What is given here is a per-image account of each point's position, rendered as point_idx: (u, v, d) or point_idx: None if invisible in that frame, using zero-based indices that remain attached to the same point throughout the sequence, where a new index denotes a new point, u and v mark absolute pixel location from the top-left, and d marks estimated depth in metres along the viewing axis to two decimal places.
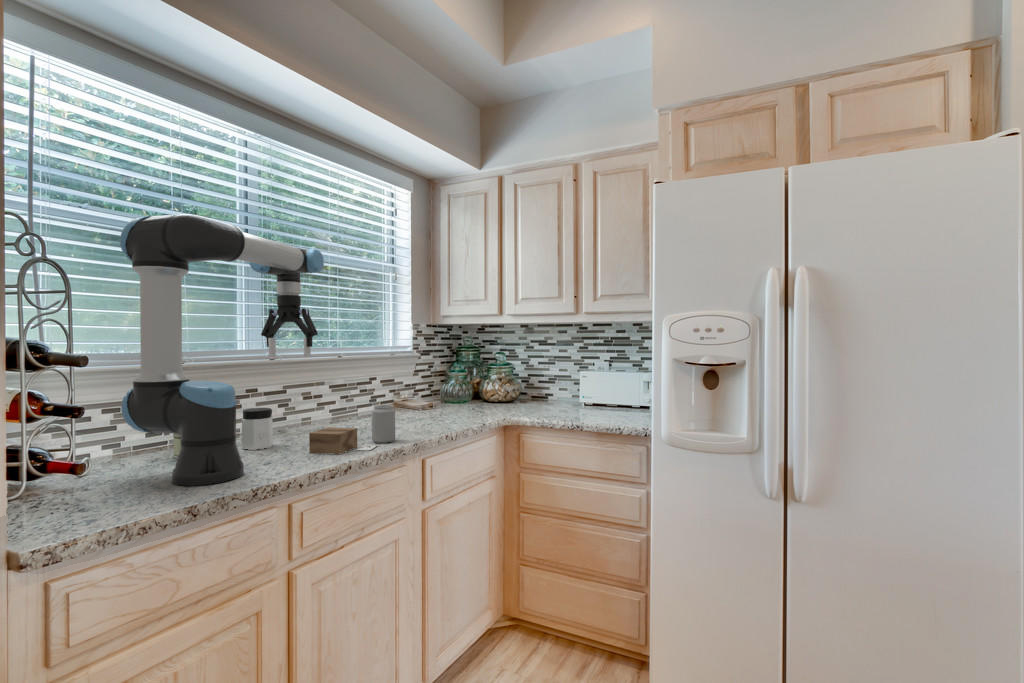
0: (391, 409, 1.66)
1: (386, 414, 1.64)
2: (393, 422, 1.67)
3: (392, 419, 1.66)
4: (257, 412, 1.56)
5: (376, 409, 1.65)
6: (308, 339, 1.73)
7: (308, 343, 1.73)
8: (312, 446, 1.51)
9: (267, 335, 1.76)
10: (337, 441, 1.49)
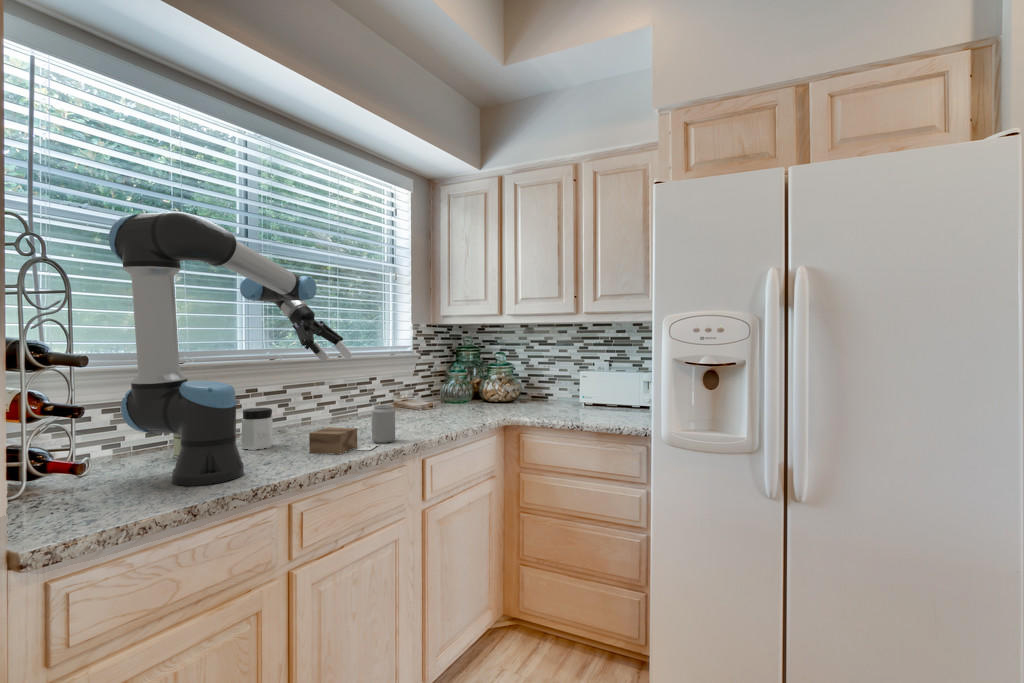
0: (391, 409, 1.66)
1: (386, 414, 1.64)
2: (393, 422, 1.67)
3: (392, 419, 1.66)
4: (257, 412, 1.56)
5: (376, 409, 1.65)
6: (341, 343, 1.75)
7: None
8: (312, 446, 1.51)
9: (312, 340, 1.60)
10: (337, 441, 1.49)
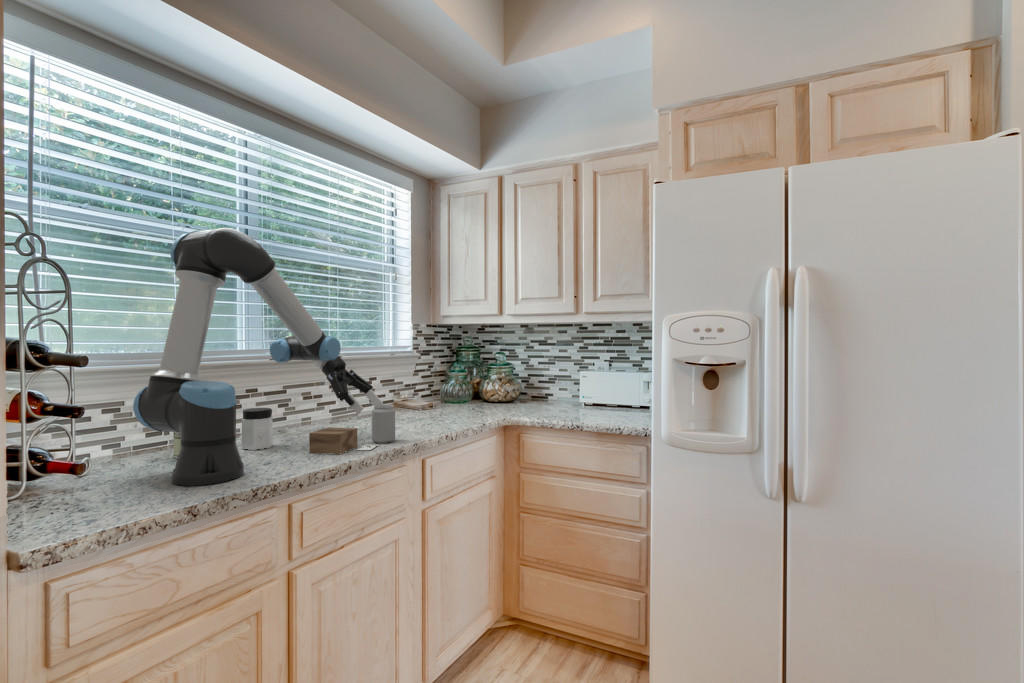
0: (391, 409, 1.66)
1: (386, 414, 1.64)
2: (393, 422, 1.67)
3: (392, 419, 1.66)
4: (257, 412, 1.56)
5: (376, 409, 1.65)
6: None
7: None
8: (312, 446, 1.51)
9: (347, 392, 1.63)
10: (337, 441, 1.49)
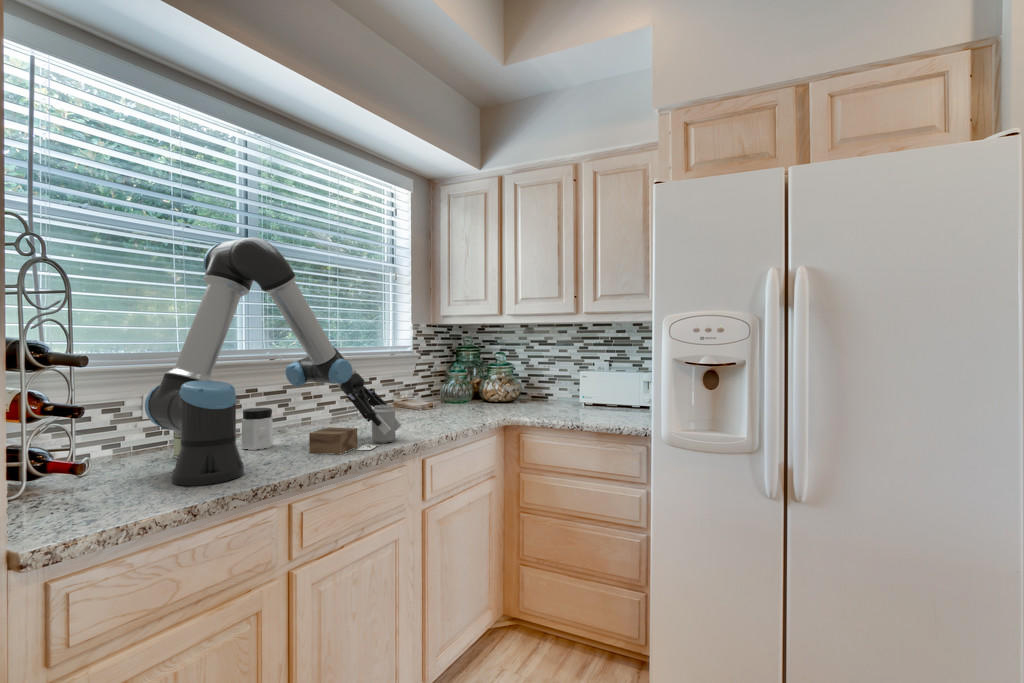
0: (391, 409, 1.66)
1: (386, 414, 1.64)
2: (393, 422, 1.67)
3: (392, 419, 1.66)
4: (257, 412, 1.56)
5: (376, 409, 1.65)
6: None
7: None
8: (312, 446, 1.51)
9: (373, 412, 1.63)
10: (337, 441, 1.49)
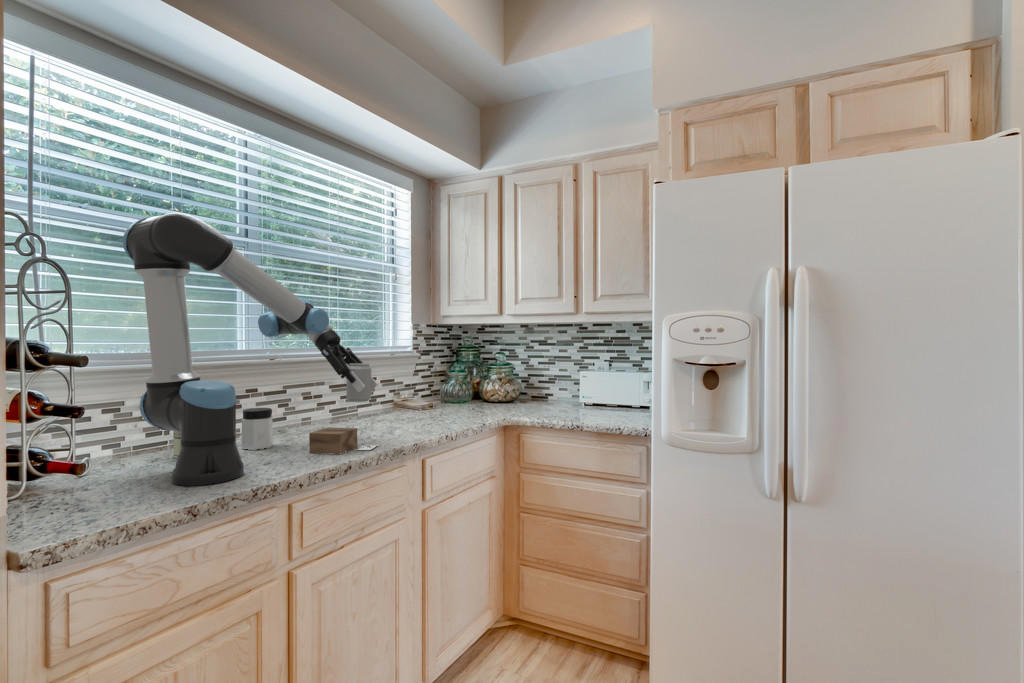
0: (367, 367, 1.60)
1: (361, 371, 1.58)
2: (369, 380, 1.60)
3: (367, 377, 1.60)
4: (257, 412, 1.56)
5: (351, 366, 1.59)
6: None
7: None
8: (312, 446, 1.51)
9: (348, 369, 1.57)
10: (337, 441, 1.49)
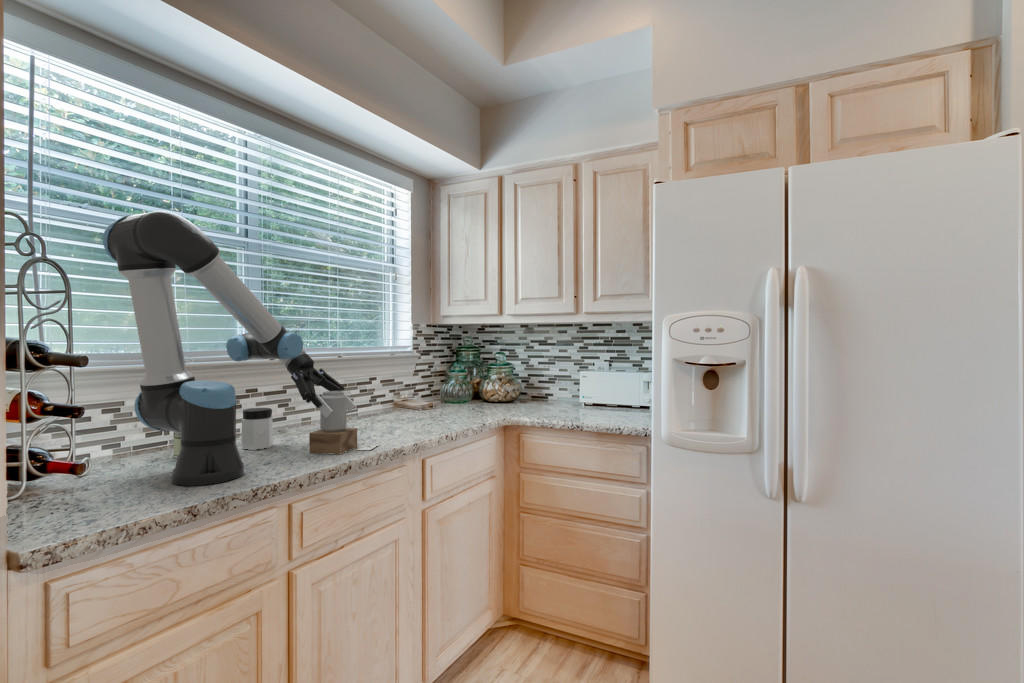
0: (341, 395, 1.54)
1: (335, 400, 1.52)
2: (343, 409, 1.54)
3: (342, 406, 1.53)
4: (257, 412, 1.56)
5: (324, 394, 1.53)
6: None
7: (346, 396, 1.62)
8: (312, 446, 1.51)
9: (314, 393, 1.48)
10: (337, 441, 1.49)
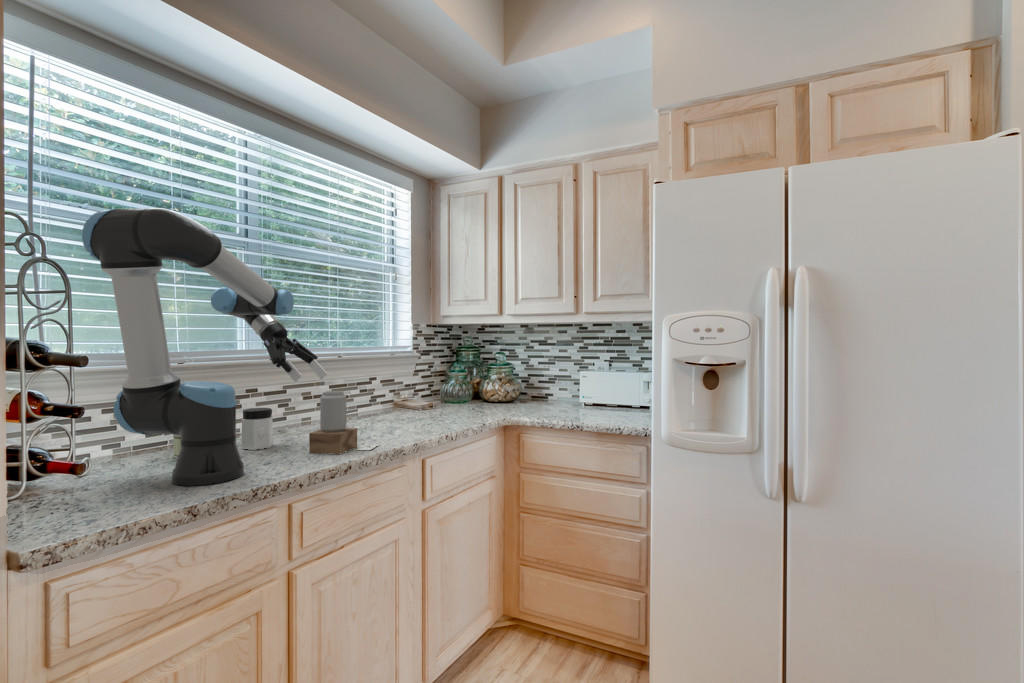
0: (341, 395, 1.54)
1: (335, 400, 1.52)
2: (343, 409, 1.54)
3: (342, 406, 1.53)
4: (257, 412, 1.56)
5: (324, 394, 1.53)
6: None
7: None
8: (312, 446, 1.51)
9: (284, 358, 1.53)
10: (337, 441, 1.49)
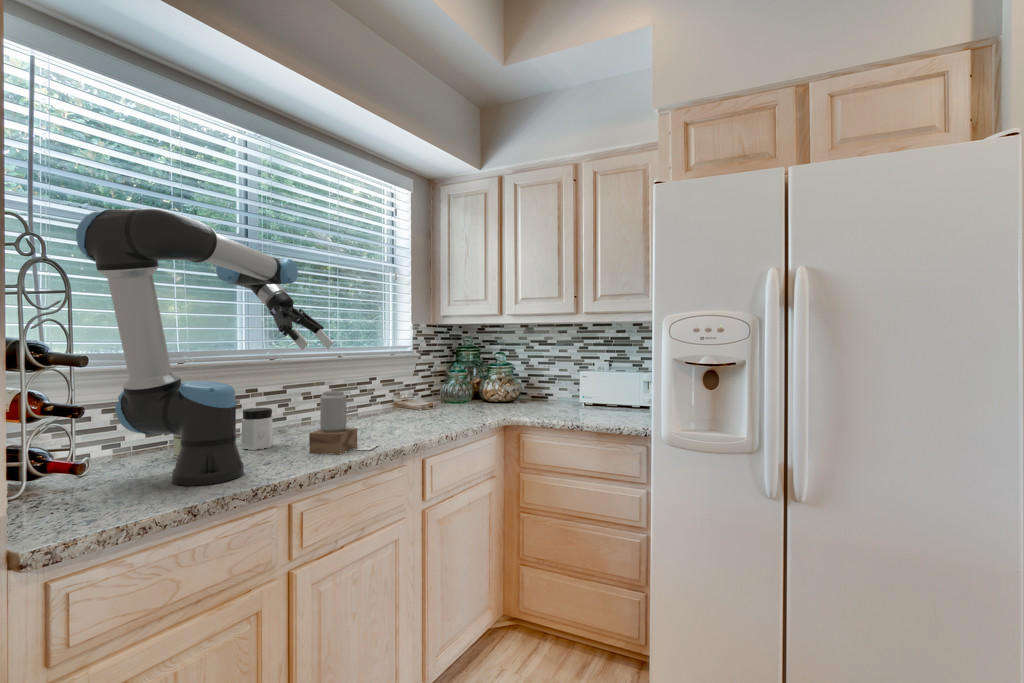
0: (341, 395, 1.54)
1: (335, 400, 1.52)
2: (343, 409, 1.54)
3: (342, 406, 1.53)
4: (257, 412, 1.56)
5: (324, 394, 1.53)
6: None
7: None
8: (312, 446, 1.51)
9: (290, 326, 1.54)
10: (337, 441, 1.49)
